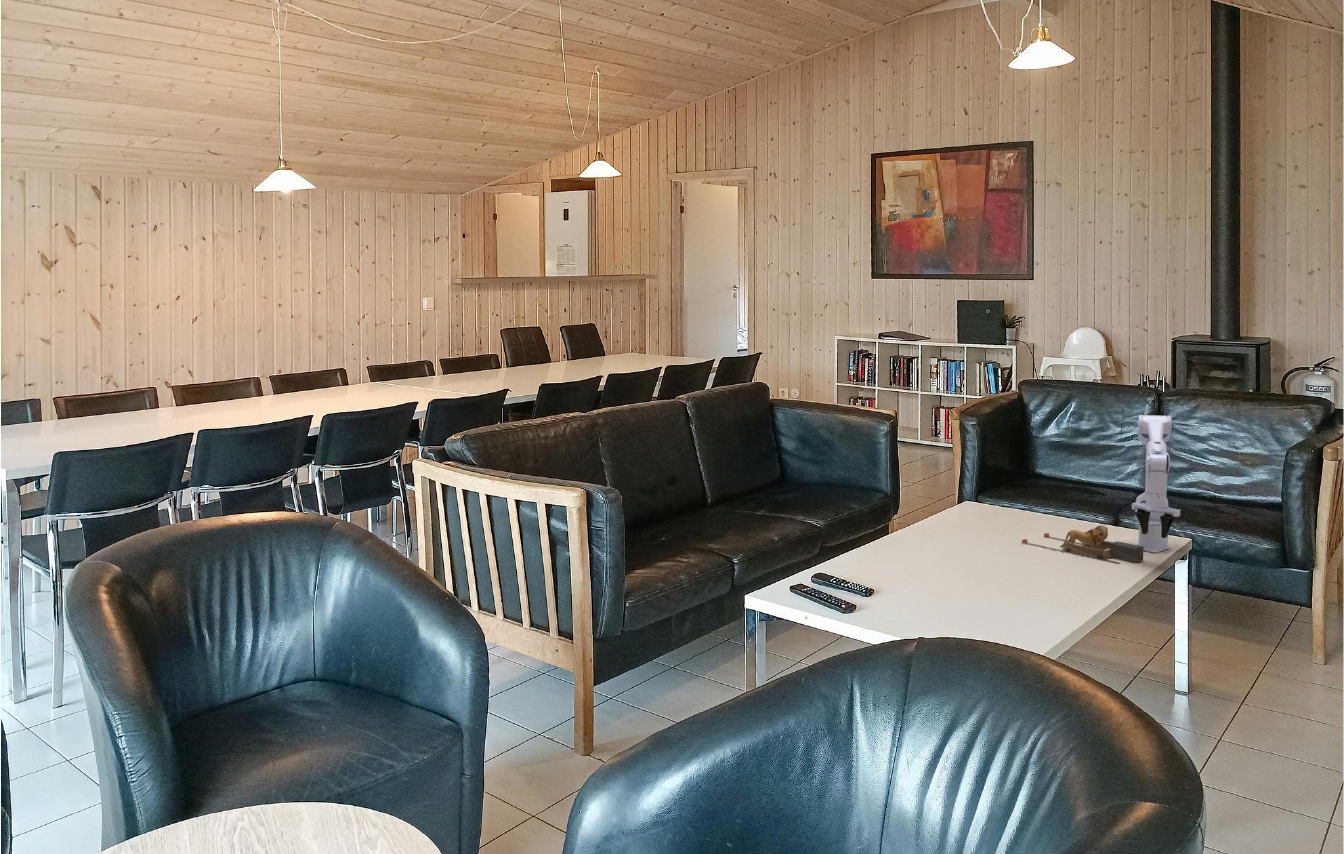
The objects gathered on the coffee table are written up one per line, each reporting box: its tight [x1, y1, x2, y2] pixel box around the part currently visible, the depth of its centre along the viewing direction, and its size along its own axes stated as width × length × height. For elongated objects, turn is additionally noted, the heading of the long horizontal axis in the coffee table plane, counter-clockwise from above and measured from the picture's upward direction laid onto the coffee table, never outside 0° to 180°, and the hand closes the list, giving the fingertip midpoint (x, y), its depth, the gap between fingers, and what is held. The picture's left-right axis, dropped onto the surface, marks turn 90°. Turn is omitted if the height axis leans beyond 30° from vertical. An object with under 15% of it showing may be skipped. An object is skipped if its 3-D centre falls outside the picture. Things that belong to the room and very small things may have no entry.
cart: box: [1062, 540, 1144, 563], centre depth 342 cm, size 13×23×4 cm, turn 37°
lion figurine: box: [1059, 524, 1109, 548], centre depth 347 cm, size 15×5×9 cm, turn 64°
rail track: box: [1021, 532, 1121, 565], centre depth 349 cm, size 14×35×1 cm, turn 37°
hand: (1154, 535), depth 328 cm, fingers open, 6 cm apart
